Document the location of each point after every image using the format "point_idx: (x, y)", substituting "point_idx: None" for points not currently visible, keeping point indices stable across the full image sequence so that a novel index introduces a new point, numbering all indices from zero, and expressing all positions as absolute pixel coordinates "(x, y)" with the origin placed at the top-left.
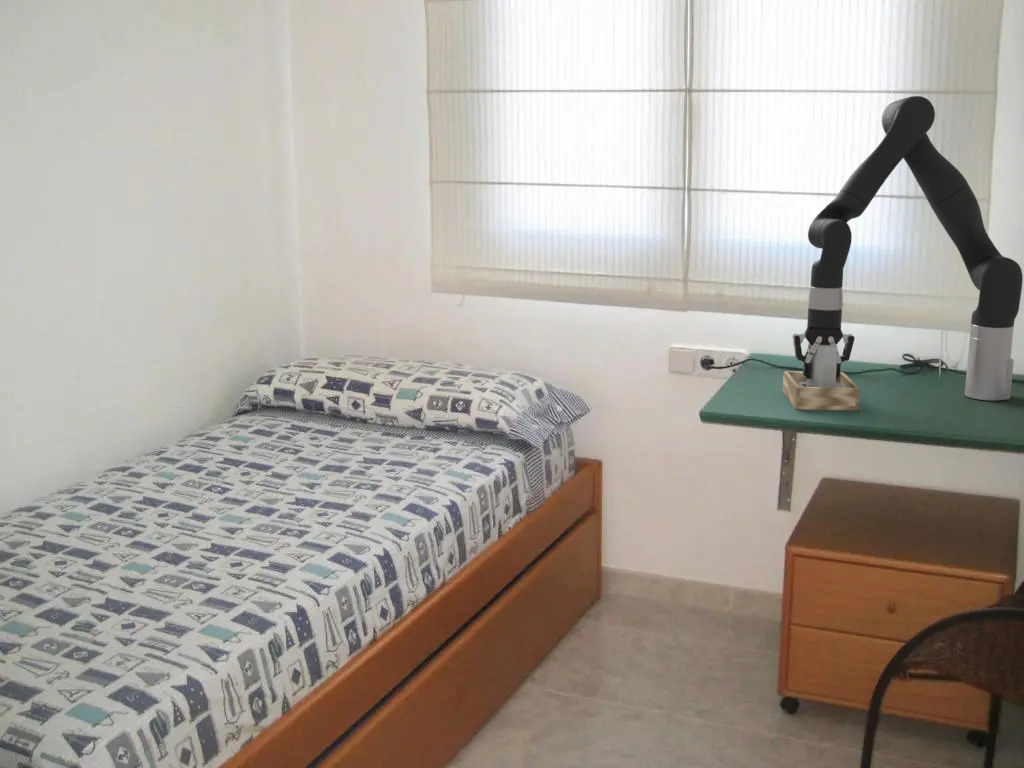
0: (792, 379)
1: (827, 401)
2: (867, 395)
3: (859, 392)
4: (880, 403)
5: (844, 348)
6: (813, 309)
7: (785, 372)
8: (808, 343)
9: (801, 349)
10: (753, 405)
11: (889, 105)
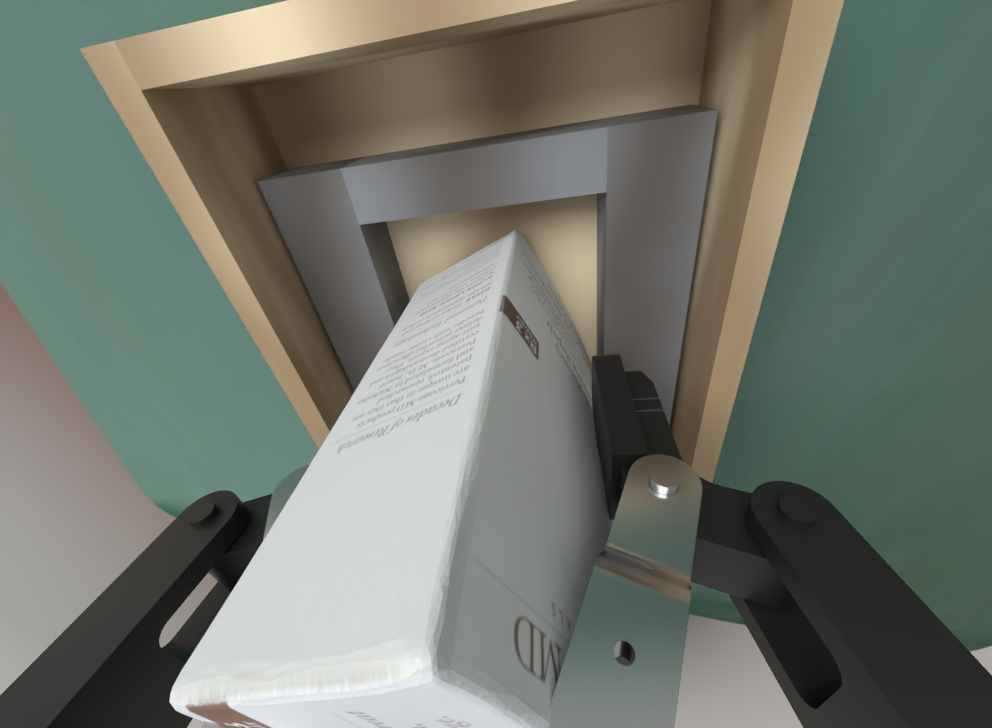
0: (304, 399)
1: None
2: (944, 37)
3: None
4: (867, 307)
5: (845, 679)
6: None
7: (136, 128)
8: (179, 695)
9: None
10: (234, 423)
11: None
